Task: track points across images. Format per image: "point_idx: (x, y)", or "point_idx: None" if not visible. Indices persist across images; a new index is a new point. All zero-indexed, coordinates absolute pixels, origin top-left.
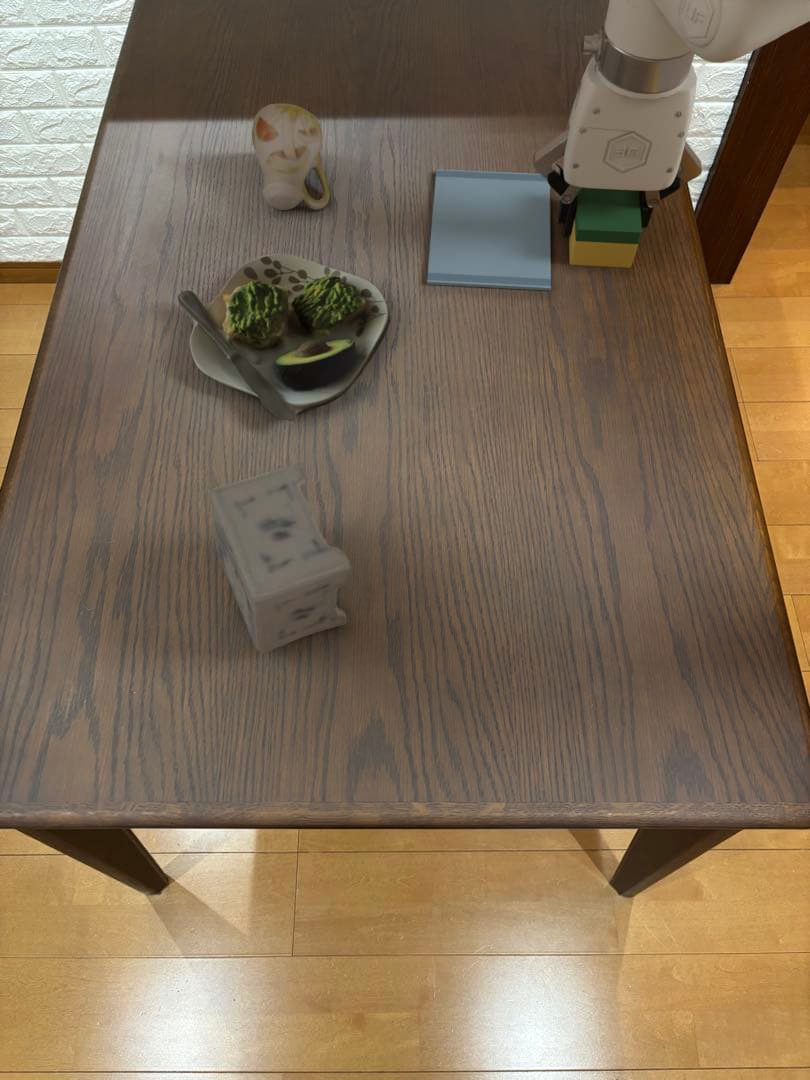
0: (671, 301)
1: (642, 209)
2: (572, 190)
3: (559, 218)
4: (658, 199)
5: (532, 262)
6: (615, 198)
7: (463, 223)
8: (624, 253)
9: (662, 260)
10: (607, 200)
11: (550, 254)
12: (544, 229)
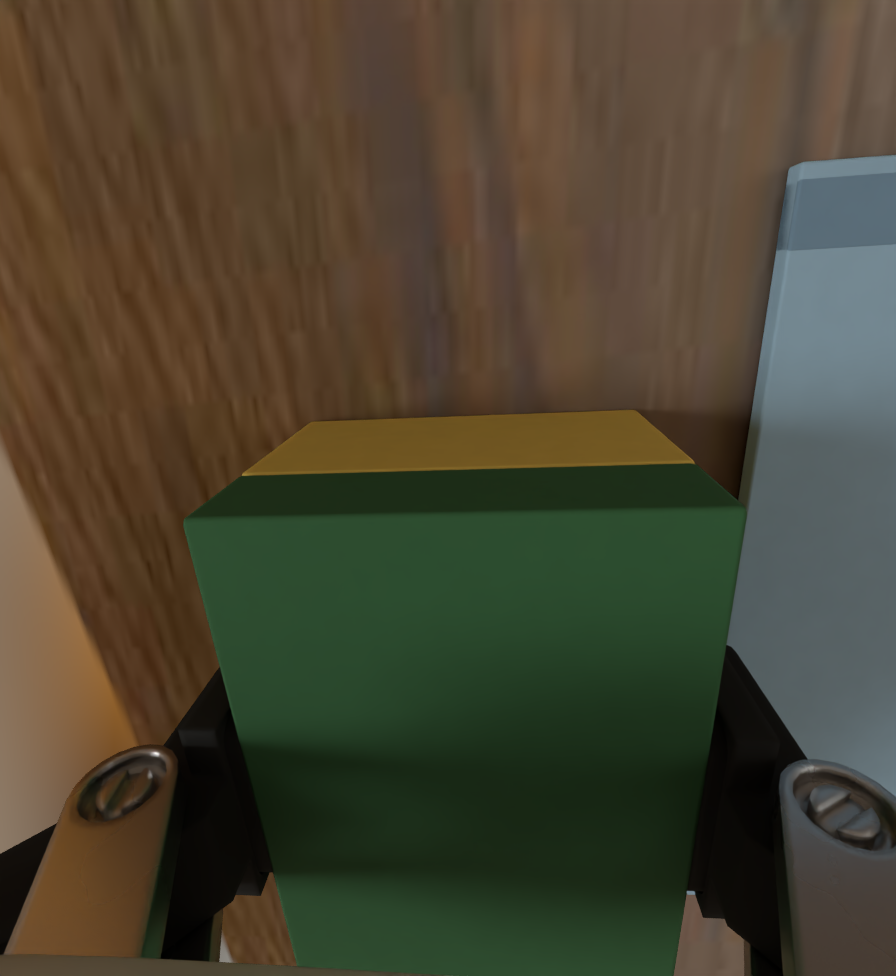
0: (58, 188)
1: (217, 731)
2: (876, 905)
3: (743, 666)
4: (71, 816)
5: (884, 380)
6: (417, 810)
7: None
8: (337, 447)
9: (166, 485)
10: (474, 794)
11: (756, 455)
12: (759, 622)
